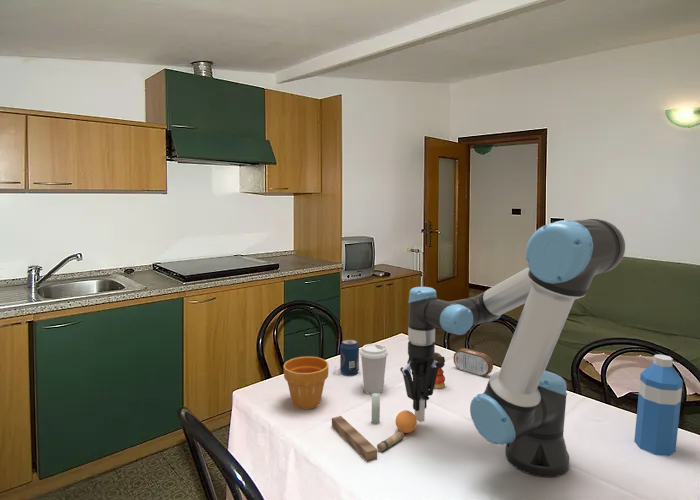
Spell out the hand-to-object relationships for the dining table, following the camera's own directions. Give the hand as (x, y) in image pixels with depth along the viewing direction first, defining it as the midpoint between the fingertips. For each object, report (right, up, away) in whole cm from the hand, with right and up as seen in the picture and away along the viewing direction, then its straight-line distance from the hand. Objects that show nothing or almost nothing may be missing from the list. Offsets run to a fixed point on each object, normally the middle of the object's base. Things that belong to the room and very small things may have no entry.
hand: (419, 419), depth 137 cm
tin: (+25, +3, +39) cm, 47 cm away
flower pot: (-34, 0, +15) cm, 37 cm away
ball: (-4, +1, -3) cm, 5 cm away
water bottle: (+62, -4, -10) cm, 63 cm away
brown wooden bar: (-19, -3, -8) cm, 21 cm away
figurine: (+10, +2, +27) cm, 29 cm away
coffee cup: (-12, +1, +24) cm, 27 cm away
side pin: (-13, -2, +2) cm, 13 cm away
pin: (-6, -2, -7) cm, 9 cm away
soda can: (-20, +3, +39) cm, 44 cm away
